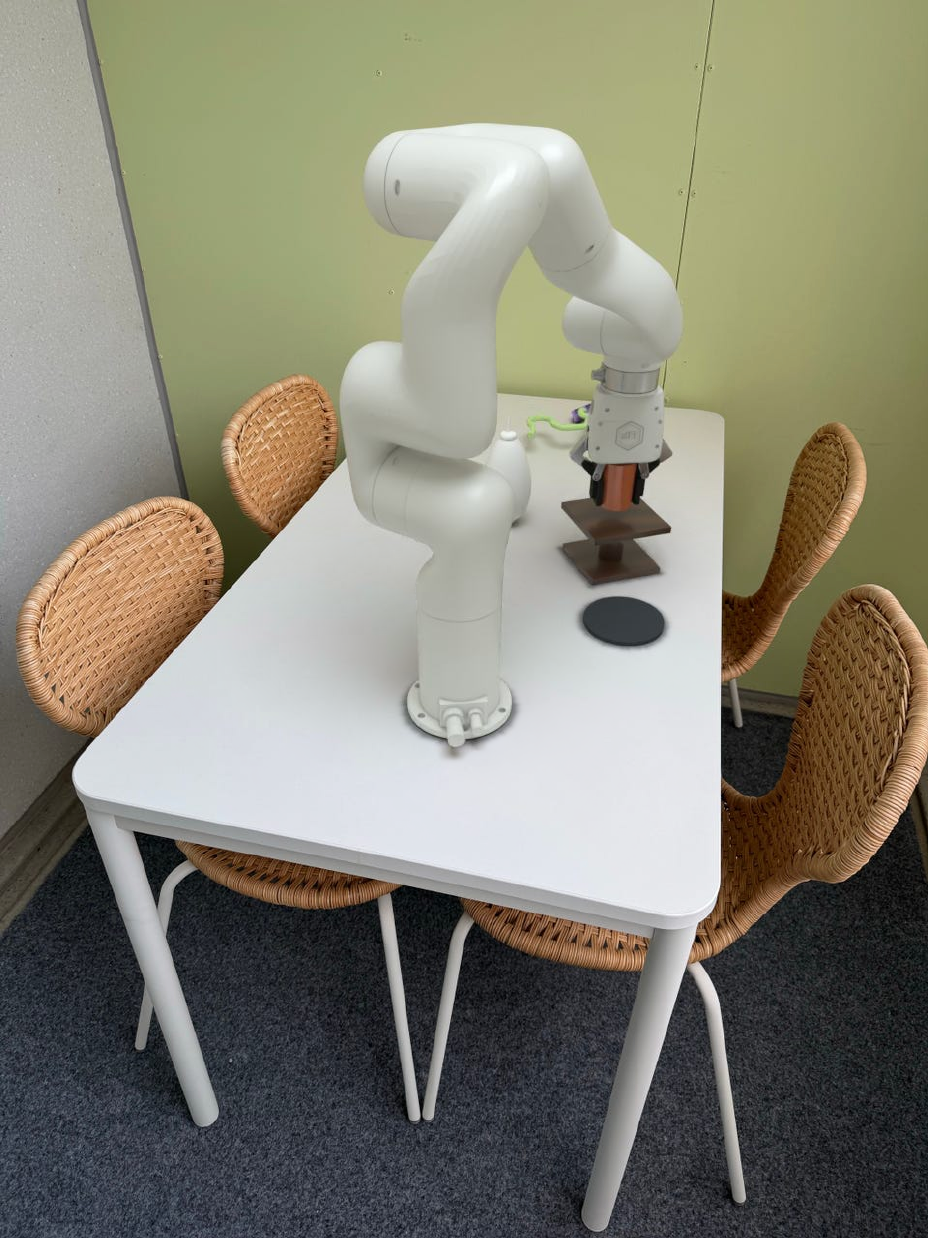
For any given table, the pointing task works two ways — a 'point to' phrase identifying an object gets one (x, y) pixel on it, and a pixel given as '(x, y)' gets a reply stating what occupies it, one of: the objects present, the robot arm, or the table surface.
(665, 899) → the table surface
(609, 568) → the stand
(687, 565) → the table surface
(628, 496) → the canister
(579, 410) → the figurine
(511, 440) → the sauce bottle
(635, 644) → the coaster
